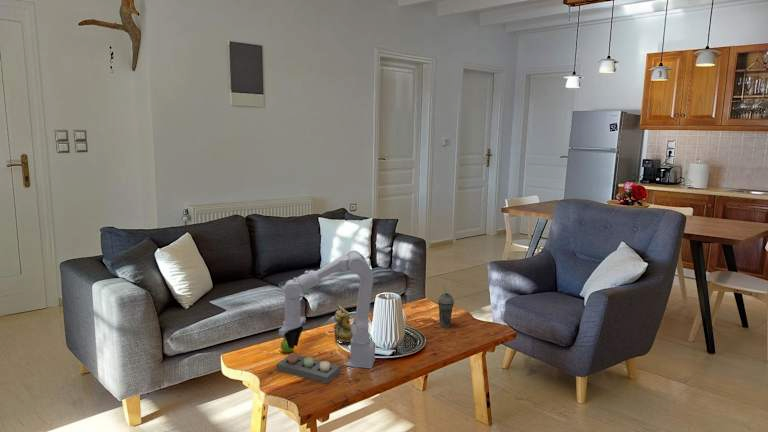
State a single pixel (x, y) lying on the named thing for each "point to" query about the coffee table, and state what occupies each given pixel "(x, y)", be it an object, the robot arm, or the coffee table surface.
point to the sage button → (308, 362)
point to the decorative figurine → (342, 325)
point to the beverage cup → (445, 309)
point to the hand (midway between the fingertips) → (292, 346)
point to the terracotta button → (293, 358)
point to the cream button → (324, 366)
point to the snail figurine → (285, 345)
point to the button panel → (309, 370)
